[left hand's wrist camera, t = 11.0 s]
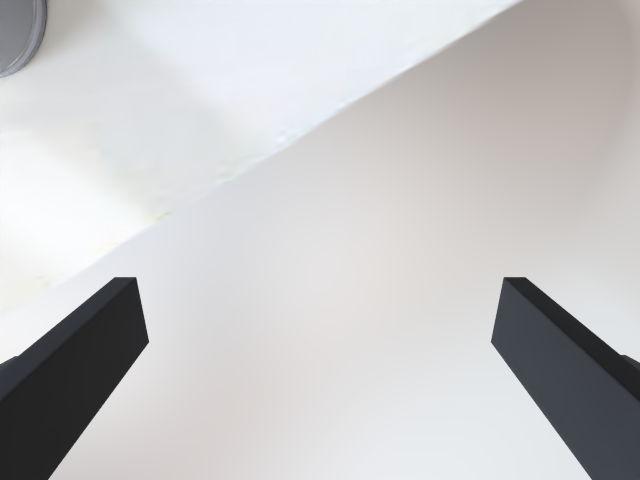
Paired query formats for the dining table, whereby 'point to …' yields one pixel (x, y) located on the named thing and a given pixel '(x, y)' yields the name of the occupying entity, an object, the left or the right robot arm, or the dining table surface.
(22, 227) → the dining table surface
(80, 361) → the left robot arm
